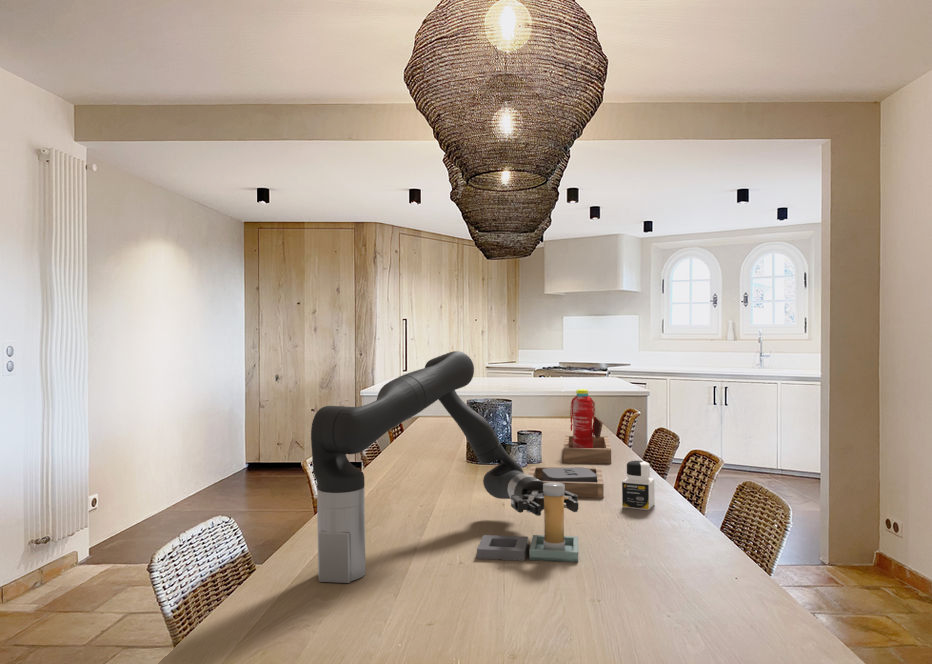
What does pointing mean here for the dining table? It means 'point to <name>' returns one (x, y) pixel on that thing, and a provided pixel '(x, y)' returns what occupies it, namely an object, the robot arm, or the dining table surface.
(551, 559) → the parts tray
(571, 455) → the bottle rack
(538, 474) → the square wooden tray
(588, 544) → the dining table surface
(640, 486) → the medicine bottle
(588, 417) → the water bottle
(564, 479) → the streaming box
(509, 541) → the frame
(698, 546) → the dining table surface
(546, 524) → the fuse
